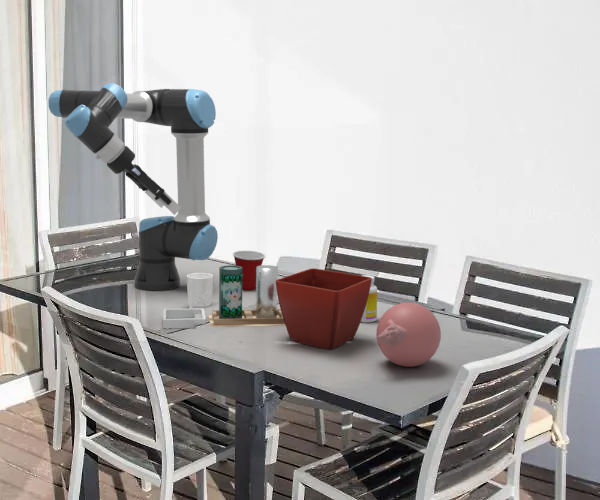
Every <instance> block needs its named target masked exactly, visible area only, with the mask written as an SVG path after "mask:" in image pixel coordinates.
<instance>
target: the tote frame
mask: <svg viewBox="0 0 600 500" xmlns="http://www.w3.org/2000/svg"><path fill="white" fill-rule="evenodd" d="M162 309H163V311H162V329H164V328H166V329H167V330H168V329H169V328H172V329H196V328H197V325H206V323H207V322H206V321H207V319H206V312H205V308H204V307H195V308H194V309H189V308H162ZM197 314H200V315H201V318H195V317H196V315H197ZM166 329H164V330H166Z"/></svg>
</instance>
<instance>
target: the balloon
mask: <svg viewBox="0 0 600 500" xmlns="http://www.w3.org/2000/svg"><path fill="white" fill-rule="evenodd" d="M375 336H376V342H377V345H378V348H379V350H380V351H381V353H382V354H383V356H384V357H385V358H386V359H387V360H388V361H390V362H392V363H393V364H395V365H397V366H400V367H407V368H409V367H417V366H421V365H423V364H426V362H428V361H429V360H431V358H433V357H434V356H435V354H436V353H437V351H438V349H439V347H440V343H441V338H442V333H441V327H440V323H439V321H438V319H437V318H436V316H435V314H434V312H432V311H431V310H430V309H428V307H426V306H424V305H422V304H419V303H416V302H401V303H397V304H395V305H393V306H391V307H390V308H388V309H387V310H386V311H385V312H384V313H383V314H382V316H381V317H380V319H379V321H378V324H377V325H376V335H375Z"/></svg>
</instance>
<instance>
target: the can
mask: <svg viewBox="0 0 600 500" xmlns="http://www.w3.org/2000/svg"><path fill="white" fill-rule="evenodd" d="M218 270H219V276H218V277H219V279H218V281H219V287H218V288H219V289H218V290H219V291H218V293H219V295H218V299H219V300H218V310H219V319H236V318H242V310H243V290H242V274H243V268H242V267H241V266H236V265H221V266H219V269H218Z"/></svg>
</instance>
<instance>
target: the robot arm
mask: <svg viewBox="0 0 600 500" xmlns="http://www.w3.org/2000/svg"><path fill="white" fill-rule="evenodd" d="M47 104H48V109H49V112H50V113H51V114H52V115H53V116H55V117H56V118H65V121H64V125H65V127H66V128H67V129H68V130H69V132H71V134H73V135H74V137H75V138H76V139H78V141H80V142H81V143H82V144H83V145H85V147H86V148H88V150H90V151H91V152H92V153H93V154H95V159H96V160H99V159H100V161H101V162H103V163H104V164H106V166H107V167H108V168H109V169H110V170H111V171H112V172H113V173H114V174H116V175H118V174H121V173H122V172H123V173H124V175H125V176H126V177H127V178H128V179H130V181H132V182H133V183H134V184H135V185H136V186H137V187H138V189H141V191H142V192H144V193H145V194H146V195H147V196H148V197H149V198H150V199H151V201H153V202H155V204H156V205H157V206H159V207H160V208H161V209H162V208H163V207H164V208H166V209H167V210H169V211H170V212H171V214H173V215H165V216H154V217H148V218H144V219H141V220H140V222H139V224H138V226H139V227H138V243H139V245H138V251H139V252H138V253H139V264H138V266H137V270H136V273H135V276H134V281H133V284H134V287H135V288H136V289H139V290H143V291H144V290H145V291H168V290H173V289H177V288H180V286H181V277H180V274H179V272H178V269H177V264H176V258H179V259H185V260H191V261H205V260H207V259H209V258H210V257H211V256H212V255H213V253H214V251H215V250H216V247H217V245H218V244H217V243H218V239H219V238H218V230H217V228H216V227H215V226H214V225H213V224H211V218H210V216H209V215H208V214H207V213H206V194H205V193H206V192H205V189H206V188H205V187H206V186H205V145H204V143H205V141H204V140H205V139H204V138H205V137H206V136H207V135H208V134H209V129H210V128H212V126H213V125H214V123H215V120H216V111H217V110H216V106H215V103H214V100H213V98H212V97H211V95H210V94H209V93H208V92H207V91H205V90H202V89H195V88H188V89H185V88H184V89H183V88H160V89H150V90H137V91H136V90H135V91H133V92H132V93H128V92H127V93H126V91H125V90H124V88H122V86H120V85H119V84H117V83H112V82H109V83H106V84H105V85H104V86H102V87H101V89H99V90H75V89H73V90H71V89H57V90H54V91H53V92H51V93H50V95H49V97H48V103H47ZM115 119H123V120H124V119H130V120H133V121H135V122H137V123H146V124H153V125H158V126H163V127H170V133H171V135H172V136H173V137H174V138H175V144H176V148H175V149H176V177H177V179H176V182H177V183H176V184H177V202H176V201H175V200H174V199H173V198H172V197H171V196H170V195H169V194H168V193H167V192H166V191H165V189H164V188H162V187H161V186H160V185H159V184H158V183H157V182H156V181H155V180H153V179H152V178H151V177H150V176H149V174H147V173H146V172H145V171H144V170H143V168H141V167H140V166H139V165H138V164H136V163H135V164H133V163H132V162H134V160H135V158H136V154H135V153H134V151H132V150H131V148H129V147H128V146H127V145H125V142H124V141H122V139H121V138H120V137H118V135H116V134H115V133H114V132H113V131H112V130H111V128H109V127H110V126H111V125H112V123H113V122H114V121H115Z"/></svg>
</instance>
